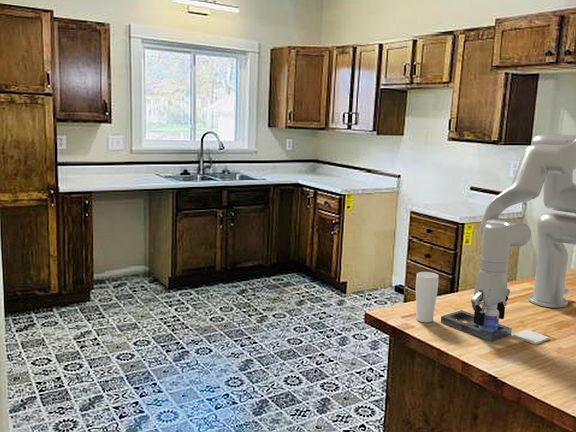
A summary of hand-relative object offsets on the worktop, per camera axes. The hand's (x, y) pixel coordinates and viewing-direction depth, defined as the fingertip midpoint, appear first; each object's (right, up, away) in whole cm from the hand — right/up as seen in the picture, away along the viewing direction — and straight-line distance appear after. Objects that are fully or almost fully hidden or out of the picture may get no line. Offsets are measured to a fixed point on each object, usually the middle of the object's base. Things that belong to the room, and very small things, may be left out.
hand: (488, 321), depth 161 cm
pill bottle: (0, -4, +1) cm, 4 cm away
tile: (+12, -5, -2) cm, 13 cm away
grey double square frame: (-3, -3, +4) cm, 6 cm away
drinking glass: (-17, -2, +10) cm, 20 cm away
